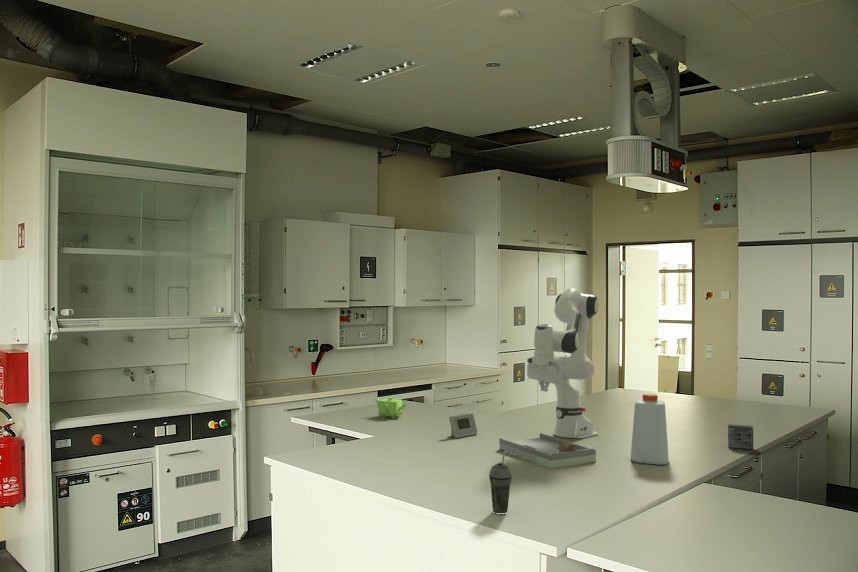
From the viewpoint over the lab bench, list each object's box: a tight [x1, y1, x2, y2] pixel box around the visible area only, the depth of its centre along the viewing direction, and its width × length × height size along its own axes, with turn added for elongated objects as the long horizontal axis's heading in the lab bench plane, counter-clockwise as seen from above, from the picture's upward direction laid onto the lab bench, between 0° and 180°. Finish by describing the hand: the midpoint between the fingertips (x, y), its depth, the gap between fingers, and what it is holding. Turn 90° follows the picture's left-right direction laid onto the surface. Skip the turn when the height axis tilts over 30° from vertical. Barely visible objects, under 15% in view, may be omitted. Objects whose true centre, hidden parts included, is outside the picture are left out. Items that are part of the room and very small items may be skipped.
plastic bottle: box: [630, 393, 669, 466], centre depth 281 cm, size 15×15×28 cm
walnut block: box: [559, 441, 578, 453], centre depth 275 cm, size 5×5×5 cm
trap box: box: [498, 433, 597, 469], centre depth 288 cm, size 24×36×6 cm, turn 29°
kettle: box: [373, 396, 408, 420], centre depth 373 cm, size 15×14×11 cm
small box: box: [727, 423, 754, 452], centre depth 306 cm, size 11×6×10 cm, turn 65°
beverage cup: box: [488, 450, 513, 513], centre depth 211 cm, size 7×7×20 cm
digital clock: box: [449, 412, 478, 439], centre depth 326 cm, size 16×9×11 cm, turn 121°
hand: (544, 391), depth 299 cm, fingers closed
